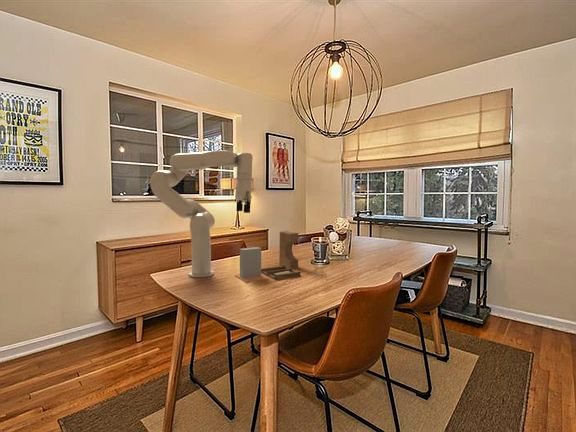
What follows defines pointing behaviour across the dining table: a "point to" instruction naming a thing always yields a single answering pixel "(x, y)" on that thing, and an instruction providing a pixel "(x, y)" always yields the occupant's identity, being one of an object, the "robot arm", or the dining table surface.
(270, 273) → the tray
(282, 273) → the upper offcut slab
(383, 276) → the dining table surface
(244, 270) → the grey rectangular block
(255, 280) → the terracotta mat
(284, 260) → the decorative block
